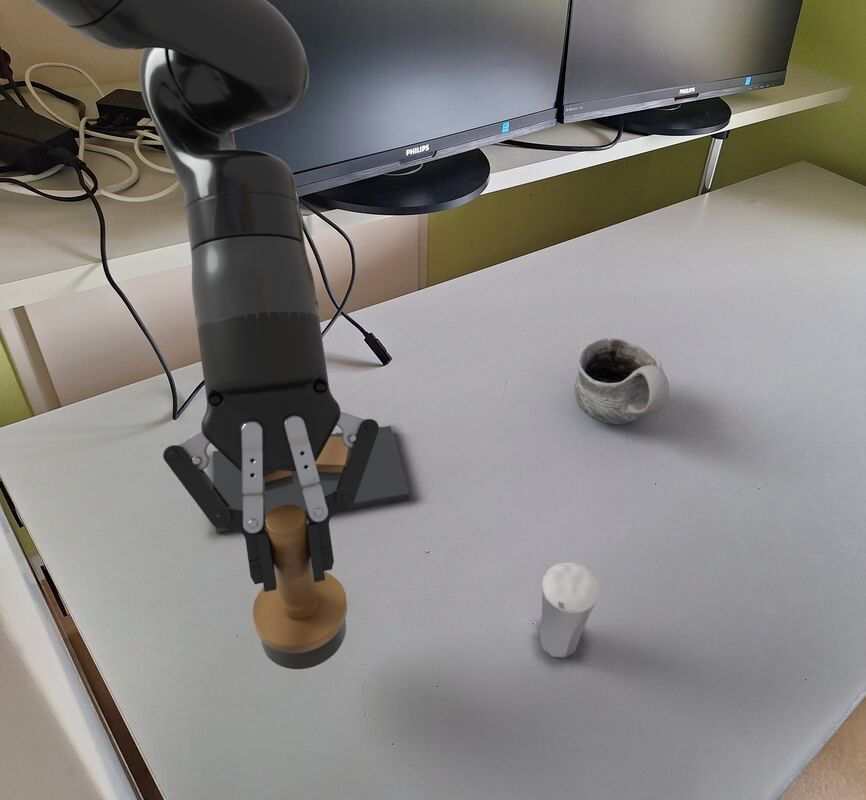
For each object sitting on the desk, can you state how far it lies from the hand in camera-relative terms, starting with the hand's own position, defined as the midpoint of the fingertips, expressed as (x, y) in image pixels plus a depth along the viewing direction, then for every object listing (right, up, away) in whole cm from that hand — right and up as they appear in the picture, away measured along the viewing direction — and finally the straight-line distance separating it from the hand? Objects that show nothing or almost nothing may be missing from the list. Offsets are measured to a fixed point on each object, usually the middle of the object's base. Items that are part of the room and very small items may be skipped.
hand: (295, 583), depth 49 cm
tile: (-7, +4, +28) cm, 29 cm away
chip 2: (-6, +6, +29) cm, 30 cm away
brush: (-2, -5, +7) cm, 9 cm away
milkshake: (+17, -10, +17) cm, 26 cm away
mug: (+25, +10, +40) cm, 48 cm away
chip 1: (-11, +5, +27) cm, 30 cm away
